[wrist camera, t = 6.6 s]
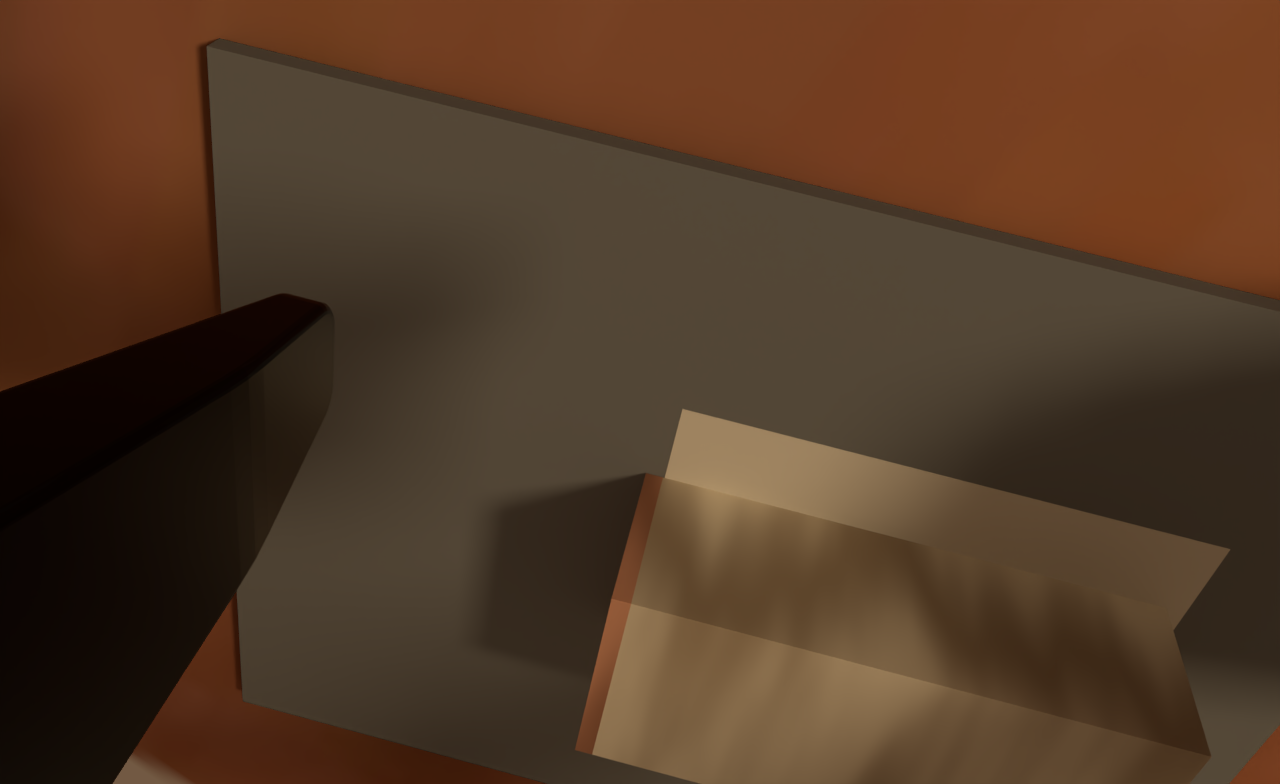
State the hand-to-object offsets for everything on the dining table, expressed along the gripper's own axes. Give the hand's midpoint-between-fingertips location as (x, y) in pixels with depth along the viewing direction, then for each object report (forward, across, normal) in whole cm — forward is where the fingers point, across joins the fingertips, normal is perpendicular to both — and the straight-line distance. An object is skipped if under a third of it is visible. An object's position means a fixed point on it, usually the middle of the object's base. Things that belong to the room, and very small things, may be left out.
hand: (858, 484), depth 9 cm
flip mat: (+12, -1, +13) cm, 18 cm away
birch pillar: (+10, +2, +13) cm, 17 cm away
